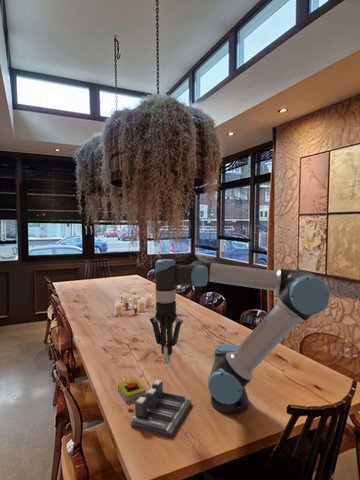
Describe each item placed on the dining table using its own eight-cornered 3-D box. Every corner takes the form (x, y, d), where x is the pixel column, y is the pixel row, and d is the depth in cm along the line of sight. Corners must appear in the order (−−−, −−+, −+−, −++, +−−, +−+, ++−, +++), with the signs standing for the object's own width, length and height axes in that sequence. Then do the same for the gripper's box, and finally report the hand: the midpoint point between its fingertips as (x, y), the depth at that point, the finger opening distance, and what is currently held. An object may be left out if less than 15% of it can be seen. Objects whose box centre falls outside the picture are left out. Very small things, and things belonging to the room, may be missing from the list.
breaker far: (162, 396, 119) (162, 380, 118) (158, 400, 115) (158, 384, 115) (156, 394, 120) (156, 379, 120) (152, 399, 116) (152, 383, 116)
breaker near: (147, 415, 107) (147, 397, 106) (142, 421, 103) (142, 403, 103) (140, 413, 108) (140, 395, 108) (135, 419, 104) (135, 401, 104)
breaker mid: (157, 405, 112) (157, 389, 112) (153, 410, 109) (153, 393, 109) (150, 403, 113) (150, 387, 113) (146, 409, 110) (146, 392, 110)
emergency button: (126, 395, 116) (115, 378, 129) (126, 406, 116) (115, 388, 129) (147, 388, 120) (134, 373, 133) (147, 398, 121) (135, 382, 134)
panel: (191, 404, 116) (191, 396, 116) (171, 437, 97) (171, 428, 97) (156, 395, 122) (156, 388, 122) (130, 425, 103) (130, 417, 103)
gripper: (185, 299, 108) (186, 361, 109) (154, 297, 113) (156, 355, 114) (178, 304, 101) (179, 370, 102) (145, 301, 106) (147, 364, 107)
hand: (167, 362), depth 108 cm, fingers closed
